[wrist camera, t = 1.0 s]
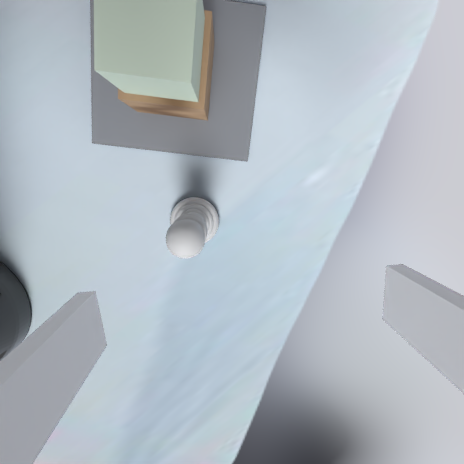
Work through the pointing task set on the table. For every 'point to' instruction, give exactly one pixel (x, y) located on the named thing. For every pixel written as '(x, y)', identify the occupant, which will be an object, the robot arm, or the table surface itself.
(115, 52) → the block top
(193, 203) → the chess piece
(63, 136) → the table surface
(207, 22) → the block bottom
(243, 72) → the mat
